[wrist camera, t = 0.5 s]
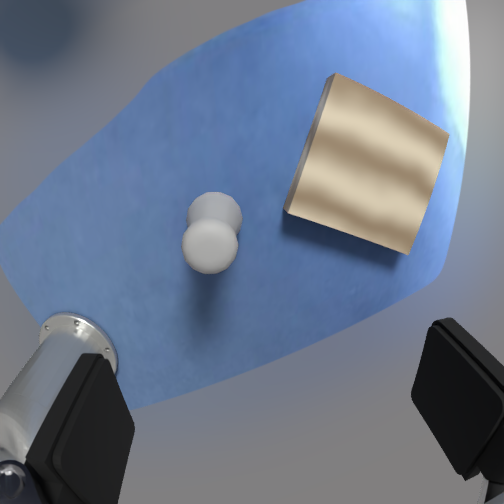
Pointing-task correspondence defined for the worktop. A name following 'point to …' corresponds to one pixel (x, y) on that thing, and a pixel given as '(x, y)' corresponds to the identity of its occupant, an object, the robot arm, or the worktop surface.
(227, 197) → the salt shaker
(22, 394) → the robot arm
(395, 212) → the plinth
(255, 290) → the worktop surface
